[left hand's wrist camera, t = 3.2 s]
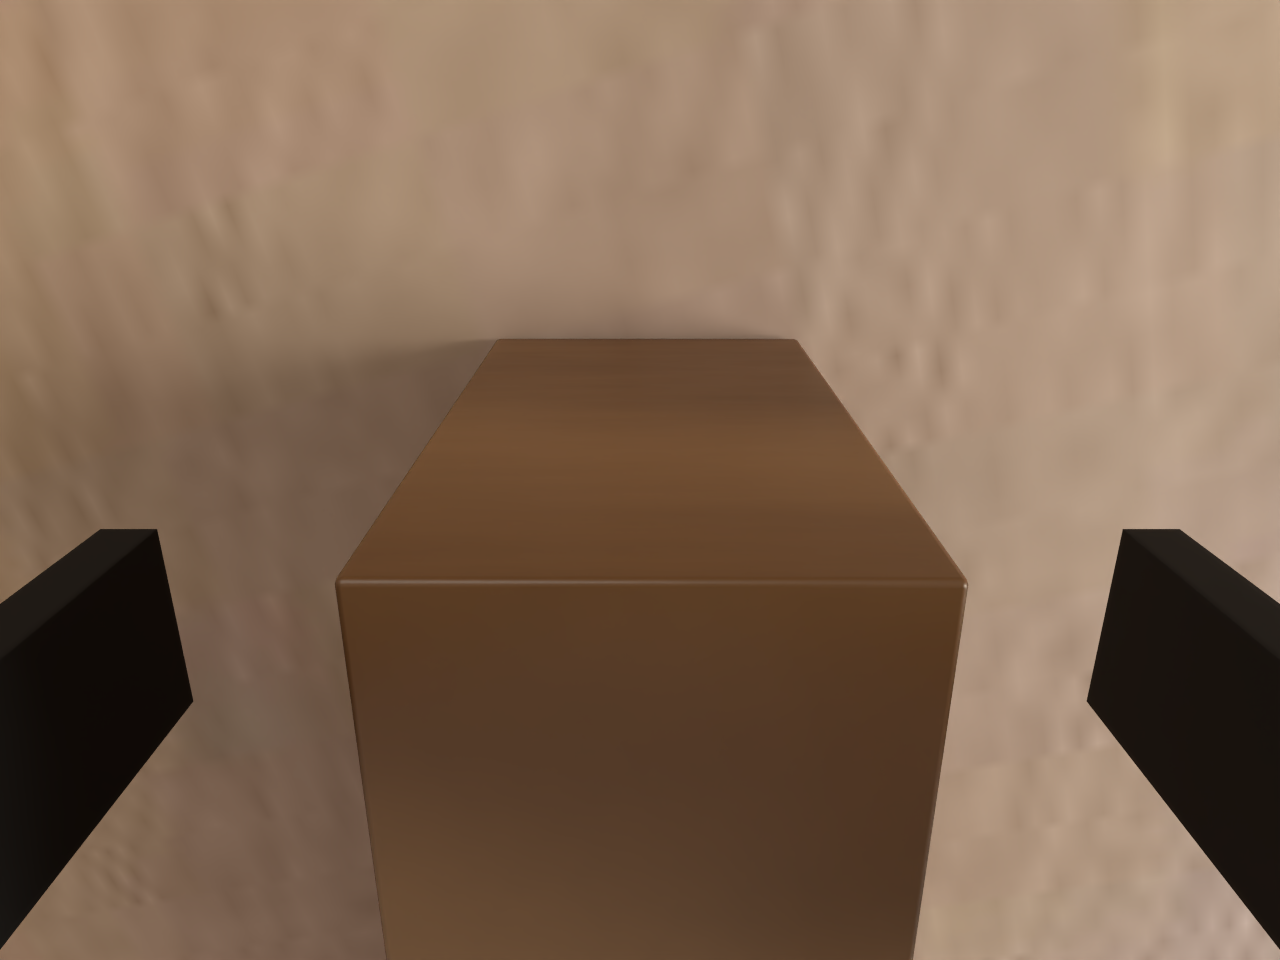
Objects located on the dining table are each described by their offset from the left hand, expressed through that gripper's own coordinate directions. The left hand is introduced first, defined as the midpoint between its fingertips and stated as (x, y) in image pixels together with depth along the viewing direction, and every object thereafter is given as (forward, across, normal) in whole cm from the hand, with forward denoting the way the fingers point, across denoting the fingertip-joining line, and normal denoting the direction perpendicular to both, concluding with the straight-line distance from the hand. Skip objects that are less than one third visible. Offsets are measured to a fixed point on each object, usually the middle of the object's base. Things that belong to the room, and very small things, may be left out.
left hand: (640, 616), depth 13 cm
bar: (+3, 0, -10) cm, 10 cm away
